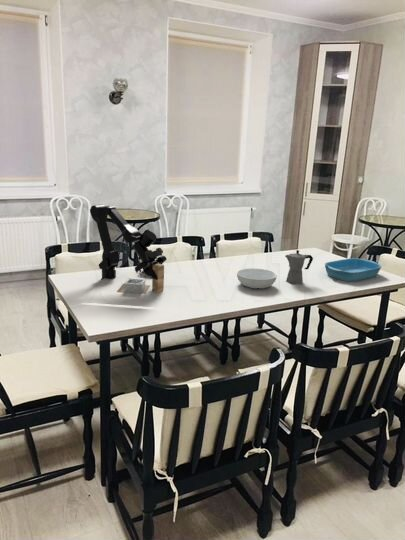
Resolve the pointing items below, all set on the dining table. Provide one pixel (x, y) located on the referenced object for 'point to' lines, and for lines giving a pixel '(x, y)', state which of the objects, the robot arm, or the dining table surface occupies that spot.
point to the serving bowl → (256, 277)
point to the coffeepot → (296, 267)
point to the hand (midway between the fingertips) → (160, 278)
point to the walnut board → (139, 293)
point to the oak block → (159, 283)
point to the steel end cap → (134, 285)
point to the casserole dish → (352, 269)
